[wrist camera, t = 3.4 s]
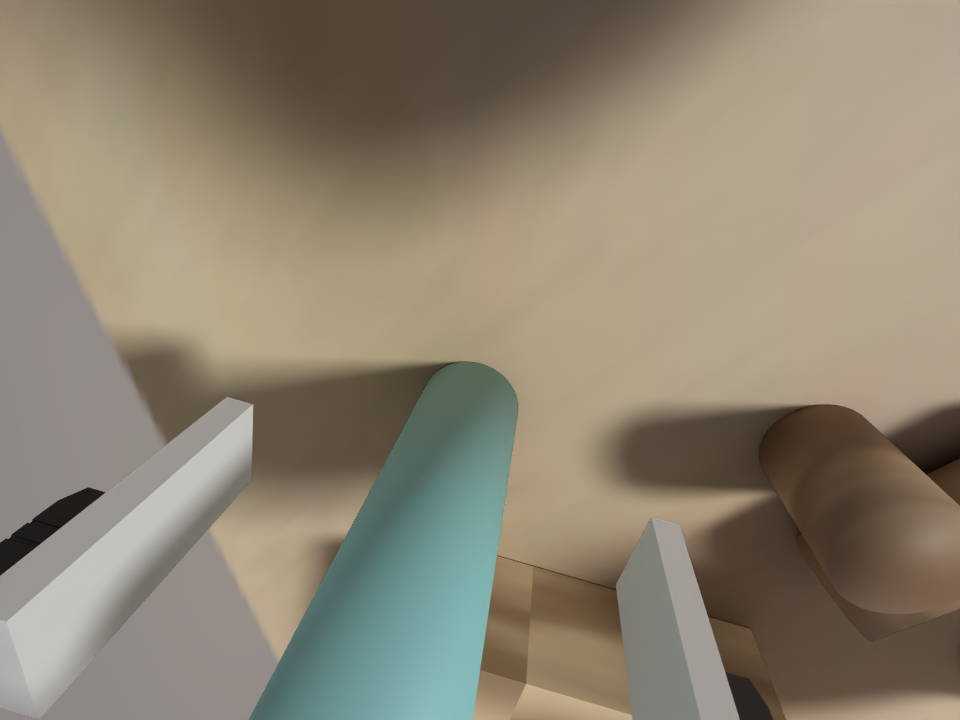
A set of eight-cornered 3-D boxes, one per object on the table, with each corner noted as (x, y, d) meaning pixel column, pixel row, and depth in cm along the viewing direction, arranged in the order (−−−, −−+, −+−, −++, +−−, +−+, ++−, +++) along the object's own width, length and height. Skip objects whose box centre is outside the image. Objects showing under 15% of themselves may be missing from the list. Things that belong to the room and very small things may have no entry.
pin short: (790, 392, 16) (880, 492, 12) (898, 421, 16) (1031, 533, 11) (740, 474, 18) (802, 591, 13) (838, 502, 18) (934, 628, 13)
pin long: (432, 350, 17) (96, 921, 5) (529, 377, 17) (449, 1036, 5) (416, 431, 19) (131, 1019, 6) (504, 456, 19) (395, 1106, 6)
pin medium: (819, 554, 19) (1051, 449, 16) (885, 652, 16) (1183, 548, 13) (781, 522, 18) (1033, 397, 14) (848, 625, 15) (1180, 498, 12)
